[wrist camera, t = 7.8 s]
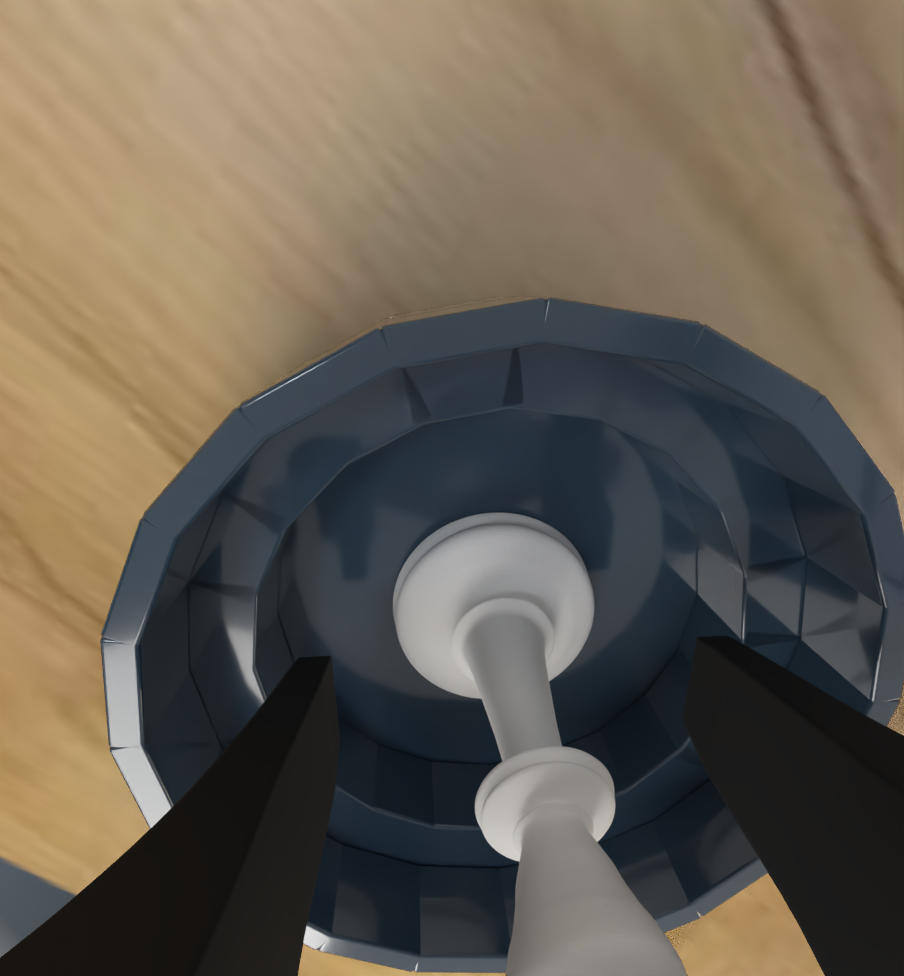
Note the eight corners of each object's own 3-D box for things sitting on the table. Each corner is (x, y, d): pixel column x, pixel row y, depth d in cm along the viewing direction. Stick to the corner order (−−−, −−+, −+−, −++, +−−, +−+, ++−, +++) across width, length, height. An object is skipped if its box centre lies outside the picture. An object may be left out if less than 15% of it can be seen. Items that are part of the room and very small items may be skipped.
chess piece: (391, 511, 12) (323, 1233, 3) (599, 510, 13) (1155, 1141, 3) (393, 685, 14) (358, 1502, 4) (578, 680, 14) (901, 1422, 5)
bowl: (498, 140, 10) (560, 29, 6) (854, 573, 14) (1043, 691, 10) (87, 607, 13) (-72, 760, 9) (483, 859, 17) (508, 1047, 13)
